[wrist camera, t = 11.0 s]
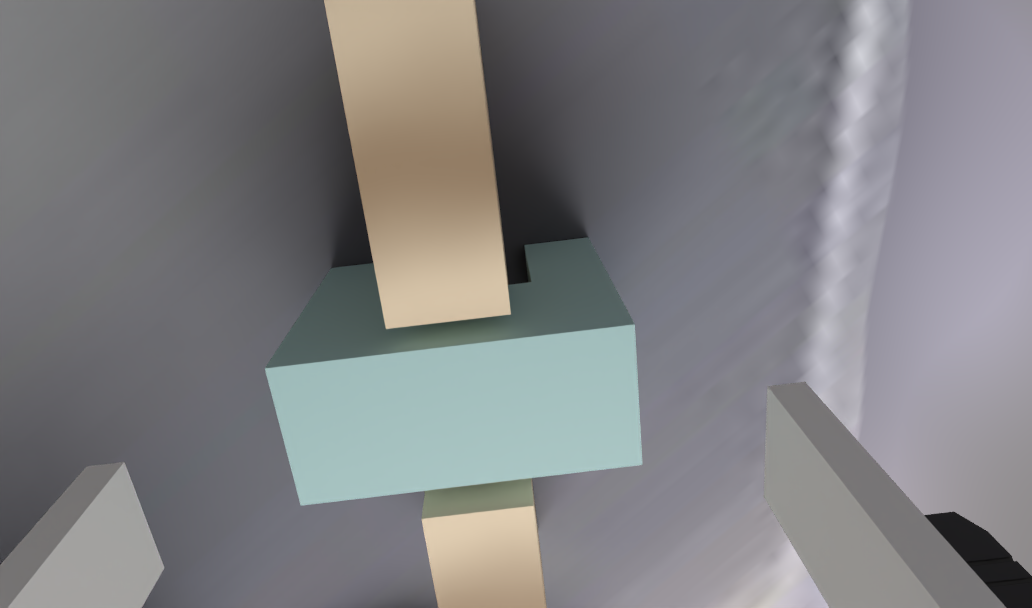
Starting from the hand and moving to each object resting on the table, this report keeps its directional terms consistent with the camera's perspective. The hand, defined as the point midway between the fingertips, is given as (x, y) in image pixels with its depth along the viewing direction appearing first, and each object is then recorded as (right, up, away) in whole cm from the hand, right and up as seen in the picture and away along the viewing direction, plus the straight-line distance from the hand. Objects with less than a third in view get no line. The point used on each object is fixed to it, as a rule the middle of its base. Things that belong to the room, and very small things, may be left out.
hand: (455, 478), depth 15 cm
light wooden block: (0, +3, +11) cm, 11 cm away
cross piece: (0, +4, +11) cm, 11 cm away
